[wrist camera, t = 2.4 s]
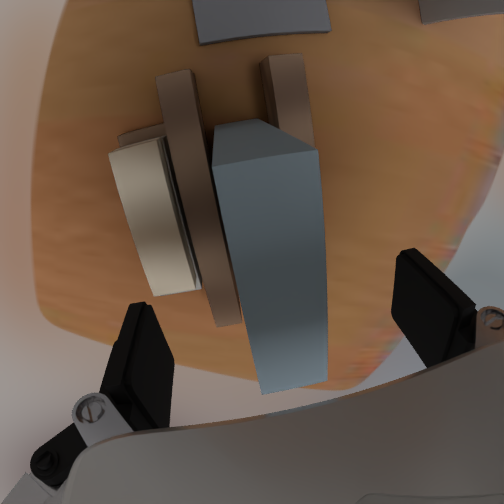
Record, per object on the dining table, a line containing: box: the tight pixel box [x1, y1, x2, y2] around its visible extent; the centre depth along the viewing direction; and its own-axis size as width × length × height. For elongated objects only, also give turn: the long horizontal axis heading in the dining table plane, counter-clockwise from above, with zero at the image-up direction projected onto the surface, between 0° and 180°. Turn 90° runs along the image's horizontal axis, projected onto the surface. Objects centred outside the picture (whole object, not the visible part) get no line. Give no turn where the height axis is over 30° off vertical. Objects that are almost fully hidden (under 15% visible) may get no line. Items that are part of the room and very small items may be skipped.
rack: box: [155, 53, 315, 327], centre depth 21 cm, size 18×8×4 cm, turn 9°
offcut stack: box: [108, 123, 202, 296], centre depth 21 cm, size 12×4×5 cm, turn 9°
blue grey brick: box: [212, 118, 328, 395], centre depth 17 cm, size 10×3×14 cm, turn 9°
